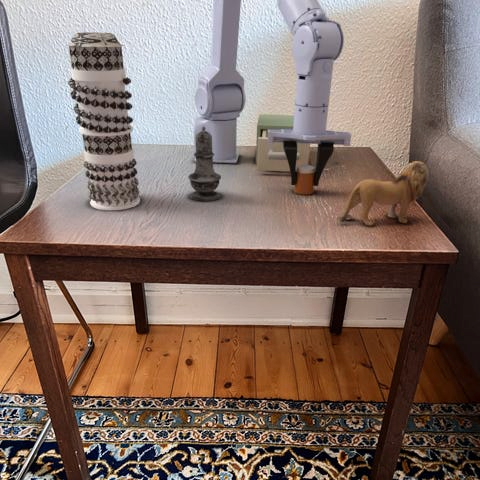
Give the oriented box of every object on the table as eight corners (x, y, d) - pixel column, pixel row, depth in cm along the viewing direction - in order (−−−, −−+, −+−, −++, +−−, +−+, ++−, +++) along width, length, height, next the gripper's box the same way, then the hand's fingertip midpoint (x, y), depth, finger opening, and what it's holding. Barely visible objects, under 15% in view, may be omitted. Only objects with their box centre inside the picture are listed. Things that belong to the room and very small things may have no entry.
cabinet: (307, 165, 104) (311, 126, 99) (255, 163, 104) (257, 125, 100) (304, 151, 115) (307, 115, 111) (257, 149, 116) (259, 114, 111)
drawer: (308, 178, 92) (311, 145, 89) (256, 176, 93) (257, 143, 89) (304, 157, 106) (307, 127, 103) (259, 155, 107) (260, 126, 103)
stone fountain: (225, 193, 86) (226, 124, 79) (214, 203, 81) (213, 130, 75) (196, 189, 88) (194, 121, 81) (183, 199, 83) (179, 127, 76)
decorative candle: (112, 190, 86) (91, 31, 72) (153, 199, 83) (139, 33, 69) (76, 204, 79) (45, 32, 66) (119, 214, 76) (96, 34, 62)
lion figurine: (406, 210, 80) (418, 156, 75) (426, 221, 76) (440, 165, 71) (331, 219, 76) (338, 163, 71) (348, 231, 72) (357, 172, 67)
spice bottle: (294, 194, 86) (296, 169, 84) (293, 188, 89) (295, 164, 87) (313, 195, 86) (316, 170, 84) (312, 189, 89) (315, 165, 87)
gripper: (268, 107, 77) (264, 189, 84) (357, 109, 76) (346, 192, 83) (269, 100, 82) (265, 177, 90) (352, 103, 82) (341, 180, 89)
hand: (304, 184), depth 87 cm, fingers closed on spice bottle, 3 cm apart
